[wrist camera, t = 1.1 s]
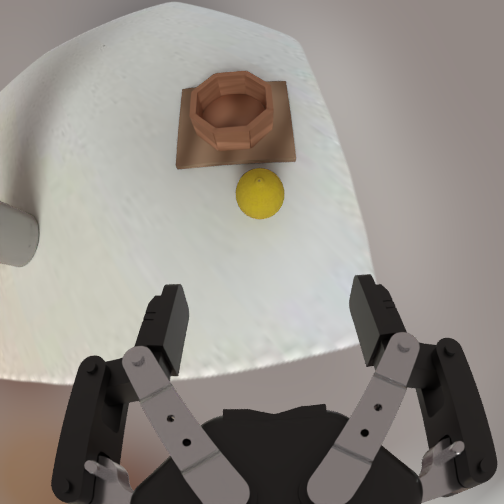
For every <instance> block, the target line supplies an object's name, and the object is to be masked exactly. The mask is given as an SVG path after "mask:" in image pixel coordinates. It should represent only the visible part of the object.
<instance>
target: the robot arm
mask: <svg viewBox="0 0 504 504" xmlns="http://www.w3.org/2000/svg"><path fill="white" fill-rule="evenodd" d="M38 238H39V230H38V224H37V221H36V219H35V218H34V217H33V216H32V215H31V214H29V213H26V212H24V211H22V210H19V209H17V208H15V207H13V206H10V205H8V204H6V203H4V202H1V201H0V263H1V264H6V265H11V266H16V267H22V266H25V265H26V264H27V263H28V262H29V261H30V260H31V259H32V257H33V255H34V253H35V251H36V248H37V244H38ZM349 307H350V312H351V316H352V319H353V322H354V325H355V329H356V332H357V335H358V339H359V342H360V346H361V349H362V353H363V356H364V360H365V364H366V367H369V366H374V367H375V373H374V375H373V377H372V379H371V381H370V383H369V385H368V386H367V388H366V390H365V392H364V394H363V396H362V398H361V399H360V401H359V403H358V405H357V407H356V408H355V410H354V412H353V414H352V415H351V417H350V418H348V417H347V416H345V415H343V414H340V413H338V412H334V411H329V410H326V405H325V404H320V405H311V406H301V407H298V408H294V409H291V410H288V411H285V412H281V413H278V414H270V413H265V412H259V411H254V410H250V409H223V416H219V417H216V418H213V419H211V420H209V421H207V422H205V423H204V424H202V425H201V426H200V424H199V423H198V422H197V420H196V419H195V418H194V416H193V415H192V413H191V412H190V411H189V409H188V408H187V406H186V405H185V403H184V402H183V400H182V399H181V397H180V396H179V395H178V393H177V391H176V390H175V388H174V387H173V385H172V384H171V383H170V377H171V376H178V374H179V369H180V363H181V358H182V352H183V347H184V341H185V336H186V331H187V326H188V321H189V308H188V305H187V301H186V298H185V294H184V291H183V288H182V285H181V284H169V285H165V286H164V288H163V291H162V294H161V296H155V297H154V298H153V299H152V300H151V301H150V302H149V304H148V307H147V310H146V314H145V316H144V321H143V322H142V325H141V328H140V331H139V334H138V337H137V340H136V344H135V346H134V347H133V348H131V349H129V350H128V351H127V352H126V353H125V354H124V356H123V358H120V359H116V360H112V361H107V362H105V361H104V360H103V359H102V358H101V357H99V356H90V357H87V358H86V359H84V360H83V361H82V363H81V364H80V366H79V369H78V372H77V375H76V378H75V382H74V385H73V388H72V392H71V396H70V399H69V402H68V406H67V410H66V414H65V418H64V422H63V426H62V430H61V435H60V439H59V443H58V448H57V453H56V458H55V464H54V469H53V475H52V482H51V486H52V490H53V492H54V494H55V496H56V497H57V498H58V499H59V500H61V501H63V502H65V503H68V504H421V503H423V502H426V501H429V500H432V499H435V498H438V497H449V496H452V495H455V494H458V493H460V492H463V491H465V490H468V489H470V488H473V487H475V486H477V485H480V484H482V483H484V482H486V481H488V480H489V479H490V478H491V477H492V476H493V475H494V474H495V471H496V469H497V457H496V452H495V448H494V444H493V440H492V436H491V432H490V428H489V425H488V421H487V418H486V414H485V411H484V407H483V404H482V401H481V398H480V395H479V392H478V389H477V386H476V383H475V381H474V378H473V375H472V372H471V370H470V367H469V365H468V362H467V360H466V357H465V355H464V352H463V350H462V348H461V346H460V344H459V343H458V342H457V341H455V340H454V339H451V338H443V339H441V340H440V341H439V342H438V343H437V345H431V344H423V343H419V342H418V341H417V339H416V338H415V337H414V336H413V335H411V334H409V333H407V332H406V329H405V327H404V325H403V322H402V320H401V318H400V315H399V313H398V311H397V309H396V308H395V304H394V302H393V301H392V298H391V296H390V293H389V291H388V290H387V289H386V288H385V287H383V286H382V285H381V284H379V285H376V284H375V282H374V280H373V277H372V276H371V275H370V274H367V275H355V276H354V280H353V285H352V290H351V294H350V300H349ZM407 387H409V388H416V392H417V396H418V400H419V404H420V408H421V412H422V416H423V421H424V426H425V430H426V435H427V441H428V446H429V450H428V451H427V452H426V453H425V455H424V456H423V459H422V469H421V472H420V474H419V476H418V475H417V474H416V473H415V472H414V471H413V470H411V469H410V468H408V467H407V466H406V465H405V464H404V463H402V462H401V461H400V460H399V459H398V458H396V457H395V456H394V455H392V454H391V453H390V452H389V451H388V450H387V449H385V448H384V447H383V446H382V442H383V441H384V439H385V437H386V435H387V433H388V430H389V429H390V426H391V424H392V422H393V420H394V418H395V416H396V413H397V411H398V409H399V407H400V405H401V402H402V400H403V398H404V395H405V393H406V390H407ZM134 401H139V402H140V404H141V406H142V409H143V410H144V412H145V414H146V416H147V417H148V419H149V421H150V423H151V425H152V426H153V428H154V430H155V431H156V433H157V435H158V437H159V438H160V440H161V441H162V443H163V445H164V446H165V448H166V449H167V451H168V452H169V454H170V456H169V457H168V458H167V460H166V461H164V462H163V463H162V464H161V465H160V466H159V467H158V468H157V469H156V470H155V471H154V472H153V473H152V474H151V475H149V476H148V477H147V478H146V479H145V480H144V481H143V482H142V483H141V484H140V485H139V486H138V487H137V488H136V489H135V490H134V491H133V490H132V489H131V487H130V484H129V476H128V473H127V471H126V470H125V469H124V468H123V467H122V466H120V458H121V451H122V444H123V437H124V429H125V423H126V417H127V411H128V405H129V403H130V402H134Z"/></svg>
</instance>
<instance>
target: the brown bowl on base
mask: <svg viewBox="0 0 504 504" xmlns="http://www.w3.org/2000/svg"><path fill="white" fill-rule="evenodd" d="M295 161H296V154H295V145H294V137H293V129H292V121H291V114H290V107H289V99H288V93H287V86H286V81H272V82H265V81H263V80H262V79H260V78H258V77H257V76H255V75H253V74H251V73H250V72H248V71H247V72H246V71H236V72H224V73H216V74H213V75H212V76H211V77H209V78H208V79H207V80H206V81H204V82H203V83H202V84H200V85H199V86H198V87H195V88H188V89H182V97H181V107H180V117H179V129H178V141H177V155H176V167H177V169H186V168H196V167H207V166H219V165H233V164H249V163H269V162H295Z"/></svg>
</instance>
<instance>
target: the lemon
mask: <svg viewBox="0 0 504 504" xmlns="http://www.w3.org/2000/svg"><path fill="white" fill-rule="evenodd" d="M236 200H237V203H238V206H239V207H240V209H241V210H242V211H243V212H244V213H245V214H246V215H247V216H250V217H252V218H255V219H265V218H269V217H271V216H273V215H274V214H275V213H276V212H278V211H279V209H280V208H281V206H282V204H283V200H284V188H283V184H282V182H281V180H280V179H279V177H278V176H277V175H276V174H275V173H273V172H272V171H270V170H268V169H264V168H256V169H252V170H250V171H248V172H246V173H245V174H244V175H243V176H242V177H241V178H240V180H239V182H238V184H237V188H236Z"/></svg>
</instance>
